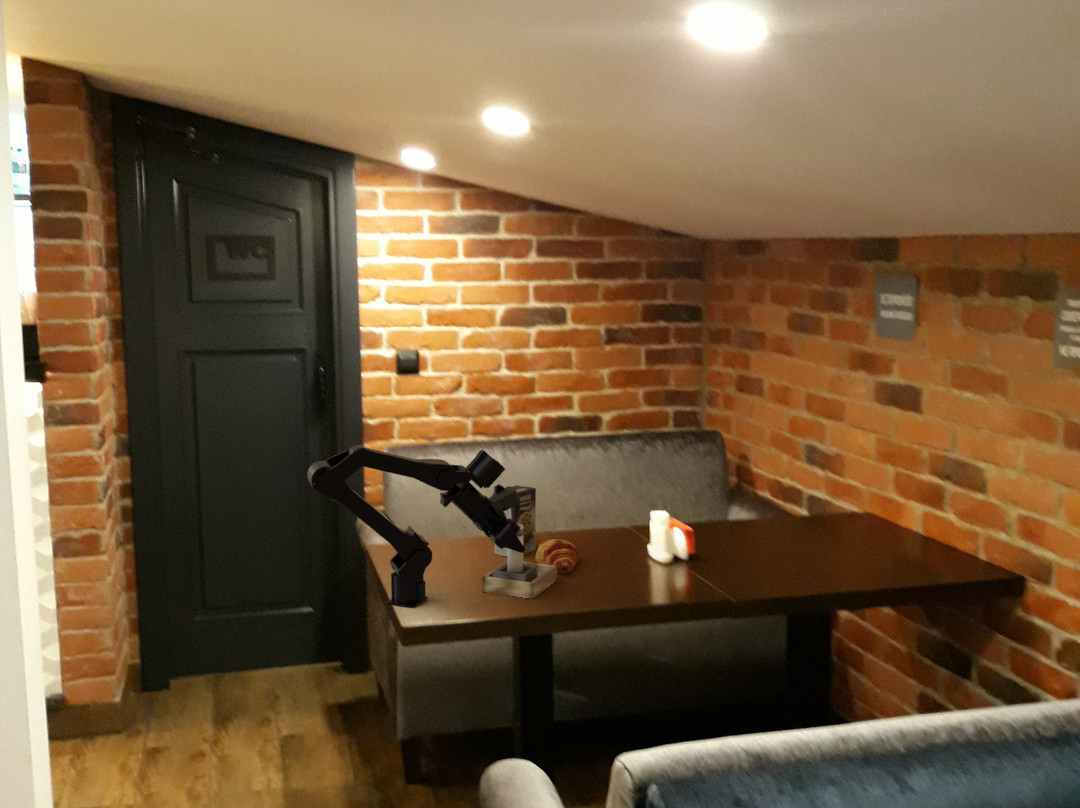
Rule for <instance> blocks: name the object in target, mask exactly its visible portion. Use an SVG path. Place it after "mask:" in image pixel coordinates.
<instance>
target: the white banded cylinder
mask: <svg viewBox="0 0 1080 808" xmlns="http://www.w3.org/2000/svg"><path fill="white" fill-rule="evenodd" d="M517 525H518V526H520V527H521V528H520V530H519V532H518V533H517V534H516V536H517V537H518V539H519V540H520V542H521V543H522V545H523V535H524V527H523V525H522V524H517ZM506 558H507V560H506V561H507V572H511V573H518V574H523V562H524V555H523V553H520V552H517V551H514V550H511V549H508V548H507V557H506Z"/></svg>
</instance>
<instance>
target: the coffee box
mask: <svg viewBox="0 0 1080 808" xmlns="http://www.w3.org/2000/svg"><path fill="white" fill-rule="evenodd" d="M512 487H513V488H514V489H515V490H516V492H517V494H518V496H519V498H520V500H521V503H520V504H519V505H517V506H516V505H515V506H513V507H512V508H510V509H508V510H506V511H503V512H504V513H505V514H506V515H505V516H506V519H508V518H510V519H512V520H513V521H514V522H515V523H516V524H522V525H523V527H524V535H523V546H524V548H525V551H524V552H523V556H524V555H526V554H529V553H532V552H534V551H536V539H537V538H536V535H537V534H536V532H537V531H536V523H537V522H536V520H537V519H536V517H537V516H536V515H537V514H536V513H537V512H536V511H537V509H536V508H537V506H536V502H537V499H536V497H537V492H536V491H537V488H536V487H531V486H523V485H522V486H521V485H516V484H515V485H514V486H512ZM494 554H495V555H498V556H501V557H506V556H507V548H505V547H504V548H502V549H500V548H499V547H498V546H497V545H496V544H495V543H494Z"/></svg>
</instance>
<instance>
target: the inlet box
mask: <svg viewBox="0 0 1080 808" xmlns="http://www.w3.org/2000/svg"><path fill="white" fill-rule="evenodd" d="M557 575H558V573H557V566H552V565H545V564H539V563H537V562H536V563H535V562H529V561H523V574H518V573H511V572H507V560H506V561H505V562H503V563H502V564H500V565H499V566H498V567H496V568H494V569H493V570H491V571H489V572H488V573H486V574H485V575H483V576H482V577H481V578H482V582H481V583H482V587H481V588H482V589H481V590H482V593H484V592H487V593H486V594H491V593H496V594H495V595H498V594H502V595H501V596H505V595H510V596H509V597H512V596H517V597H516V598H518V597H523V598H522V599H525V598H531V599H530V600H533V598H534V597H535V596H536V597H538V596H539V595H540V594H541V593H542V591H543V592H544V591H546V590H547V589H548V588H549V587H551V586H552V585H553V584H555V583H556V582H557V580H558V579H557V577H558V576H557ZM554 582H555V583H554ZM551 584H552V585H551ZM550 585H551V586H550ZM546 588H547V589H546ZM539 593H540V594H539ZM538 594H539V595H538ZM537 595H538V596H537ZM536 597H535V598H536ZM535 598H534V599H535Z"/></svg>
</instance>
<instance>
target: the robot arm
mask: <svg viewBox="0 0 1080 808" xmlns="http://www.w3.org/2000/svg"><path fill="white" fill-rule="evenodd" d="M361 468H368V469H373V470H376V471H380V472H384V473H385V472H386V473H389V474H394V475H398V476H403V477H406V478H412V479H414V480H416V481H419V482H421V483H423V484H425V485H427V486H430V487H432V488H435V489H436V490H439V491H441V492H440V493H439V495H440V501H439V503H440V504H441V506H442V507H444V508H447V507H448V506H450V505H451V503H452V504H453V505H454V506H455V507H456V508H457V509H458V510H459V511H460V512H462V513H463V514H464V515H465V516H466V517H467V518H468V519H469V520H470V521H471V522H472V524H473V525H474V526H475V527H476V528H477V529H478V530H479V531H481V532H483V533H484V534H485V535H486V536H487V537H488V538H490V541H491V542H492V543H493V544H494V545H495V544H496V545H497V546H498V547H499V548H500V549H502V548H504V547H505V548H508V549H511V550H514V551H517V552H520V553H523V552H524V551H525V548H524V546H523V545H522V543H521V542H520V540H519V539H518V537H517V536H516V534H517V533H518V532H519V530H520V528H521V527H520V526H518V525H517V524H516V523H515V522H514V521H513V520H512V519H510V518H508V519H506V516H505V515H506V514H505V513H504V512H503V511H506V510H508V509H510V508H512V507H513V506H515V505H516V506H517V505H519V504H520V503H521V500H520V498H519V496H518V494H517V492H516V490H515V489H514V488H513V486H508V485H507V486H506V487H504V486H503V485H501V483H499V484H497V485H495V486H494V487H493V493H492V494H491V496H490V497H488V496H486V495H485V494H482V493H481V491H479V490H478V489H477V488H476V487H475V485H476V486H477V487H478V488H479V489H481V490H482V489H483V488H484V489H486V490H487V489H489V488H490V487H491V486H492V484H494V483H495V482H496V480H498V478H499V477H500V476H501V475H502V474H503V473H504V472H505V471H506V469H505V466H503V465H502V464H501V463H500V462H499V461H498V460H497V459H495V458H493V456H491V455H490V454H489V453H488V452H487V451H485V450H484V449H480V450H479V451H478V452H477V454H476V456H475V457H474V458H473V459H472V460H471V461H470V462H469V463H468V464H467V466H464V465H459V464H451V463H449V462H447V461H446V460H445V459H439V458H438V459H437V458H420V459H419V458H411V457H407V456H403V455H398V454H395V453H391V452H386V451H381V450H378V449H374V448H368V447H365V446H363V445H362V444H355V445H353V446H351V447H349V448H348V449H346V450H344V451H341V452H340V453H338V454H337V453H336V454H335V455H332V456H331V457H329V458H327V459H326V460H319V461H318V460H317V461H315V462H313V463H312V464H311V465H310V466H309V468H308V470H307V473H306V475H307V480H308V482H309V484H310V485H311V488H313V490H314V491H316V493H319V494H321V496H323V497H325V498H327V499H329V500H331V501H334V502H335V503H338V504H340V505H342V506H343V507H345V508H346V509H347V510H348V511H350V512H351V513H352V514H353V515H354V516H356V518H358V519H359V520H360V521H362V522H363V523H364V524H366V525H367V526H368V527H369V528H371V530H373V531H374V532H375V533H376V534H378V535H379V536H380V537H381V538H383V539H384V540H385V541H386V542H387V543H388V544H390V545H391V546H392V547H393V549H394V550H395V551H396V553H395V554H394V555H393V557H392V558H391V559H389V564H390V566H391V568H392V570H393V571H394V572H392V573H391V574H390V584H391V585H390V592H391V596H390V597H391V598H390V599H389V600H387V604H388V605H394V606H401V607H407V608H415V607H417V606H418V605H420V604H421V603H423V602H425V601H426V600H427V599H428V595H427V594H426V593H427V592H426V580H424V575H425V571H426V569H427V568H428V567H429V566H430V565H431V563H432V560H433V551H432V550H431V548H430V547H429V545H430V543H429V542H428V540H427V539H426V538H425V537H424V536H423V535H421V534H418V533H417V532H416V531H415V530H414V529H413V527H412V526H410V525H409V526H408V527H407V528H406V530H405V529H403V528H401V527H399V526H397V525H396V524H395V523H394V522H392V521H391V520H390V519H389V518H388V517H387V516H385V515H384V514H383V513H381V511H379V510H378V509H376V507H374V506H373V505H372V504H371V503H369V502H368V501H367V500H366V499H365V498H363V497H362V496H361V495H360V494H359V493H357V492H356V491H355V490H354V489H352V487H351V486H350V485H349V484H348V483H347V482H346V481H345V480H347V479H348V478H350V477H352V475H353V474H355V472H357V471H358V470H360V469H361ZM471 481H472V483H474V484H475V485H473V484H472V483H471ZM426 595H427V596H426Z"/></svg>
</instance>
